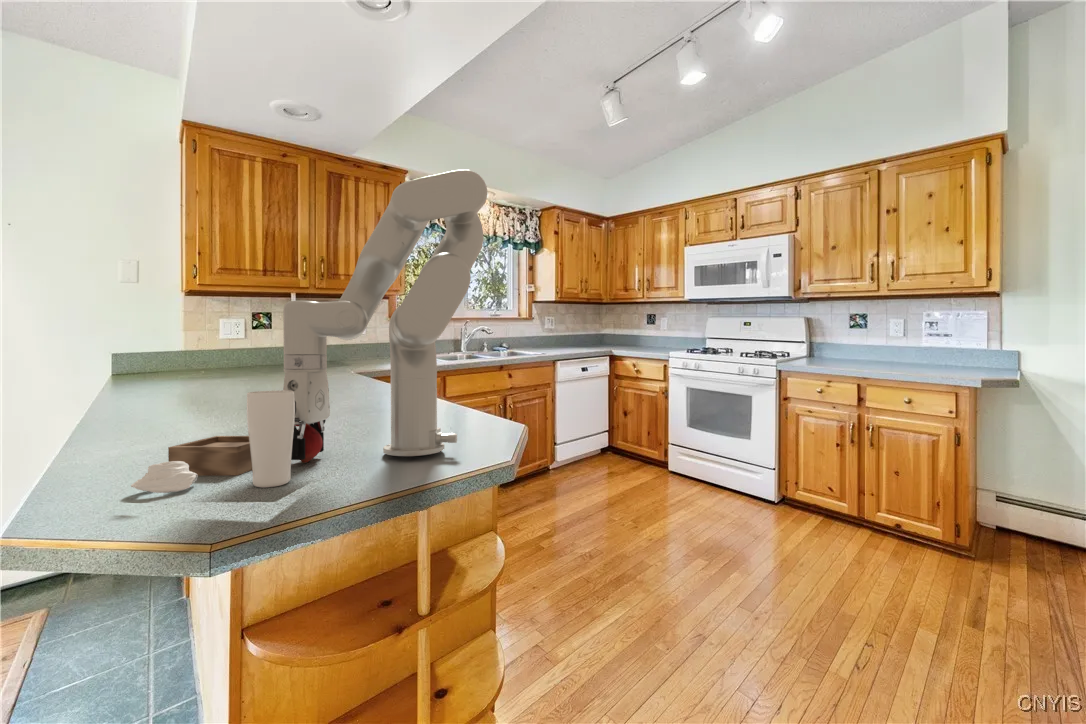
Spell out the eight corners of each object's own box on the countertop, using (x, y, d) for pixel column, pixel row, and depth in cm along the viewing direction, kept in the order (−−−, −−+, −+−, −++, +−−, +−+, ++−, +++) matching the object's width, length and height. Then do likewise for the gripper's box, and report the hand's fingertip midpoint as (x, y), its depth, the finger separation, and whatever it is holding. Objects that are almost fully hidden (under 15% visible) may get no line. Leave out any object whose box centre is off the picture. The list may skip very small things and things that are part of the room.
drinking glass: (264, 478, 79) (263, 390, 79) (303, 478, 79) (303, 390, 79) (237, 489, 72) (236, 393, 72) (280, 490, 72) (279, 393, 72)
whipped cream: (128, 502, 67) (128, 468, 67) (133, 492, 72) (133, 460, 72) (198, 492, 72) (197, 461, 72) (197, 483, 77) (197, 454, 77)
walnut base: (276, 460, 94) (276, 435, 93) (237, 475, 82) (237, 446, 81) (216, 460, 93) (216, 435, 93) (168, 475, 81) (168, 447, 81)
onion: (316, 458, 96) (316, 419, 96) (327, 462, 91) (326, 421, 91) (285, 462, 92) (285, 422, 91) (294, 467, 87) (294, 424, 87)
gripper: (302, 365, 83) (302, 465, 83) (343, 364, 100) (343, 447, 100) (259, 365, 83) (260, 465, 83) (308, 364, 100) (308, 447, 100)
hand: (306, 454), depth 92 cm, fingers open, 6 cm apart
